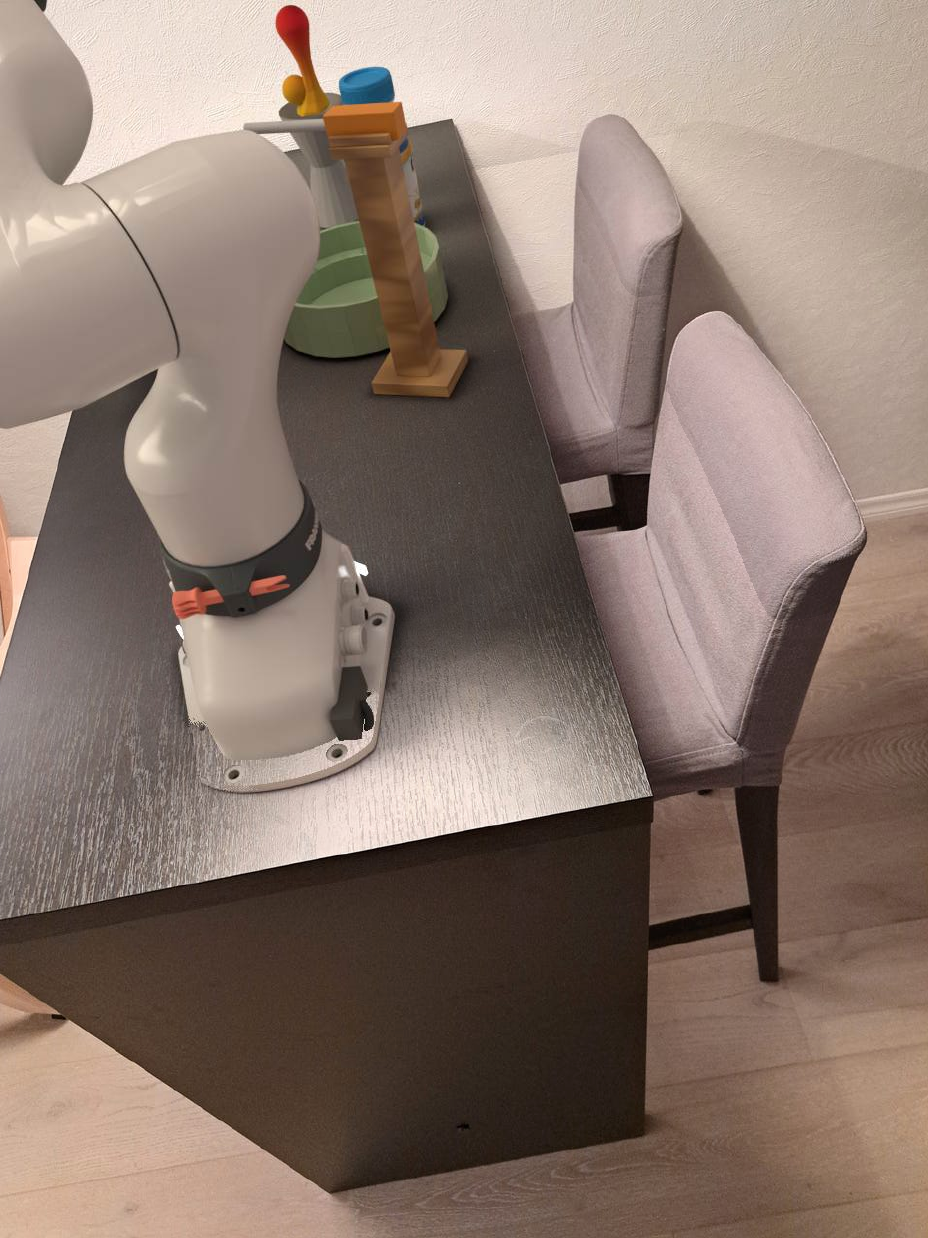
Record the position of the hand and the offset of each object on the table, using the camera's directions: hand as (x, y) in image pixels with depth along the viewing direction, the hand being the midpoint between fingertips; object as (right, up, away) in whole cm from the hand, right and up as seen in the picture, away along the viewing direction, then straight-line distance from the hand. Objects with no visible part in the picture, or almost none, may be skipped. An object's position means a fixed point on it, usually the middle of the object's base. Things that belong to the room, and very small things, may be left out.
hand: (195, 195), depth 97 cm
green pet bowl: (+15, -5, +21) cm, 26 cm away
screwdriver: (+14, +2, -9) cm, 17 cm away
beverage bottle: (+18, +11, +35) cm, 41 cm away
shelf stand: (+23, -16, +9) cm, 30 cm away
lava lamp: (+9, +16, +42) cm, 46 cm away
